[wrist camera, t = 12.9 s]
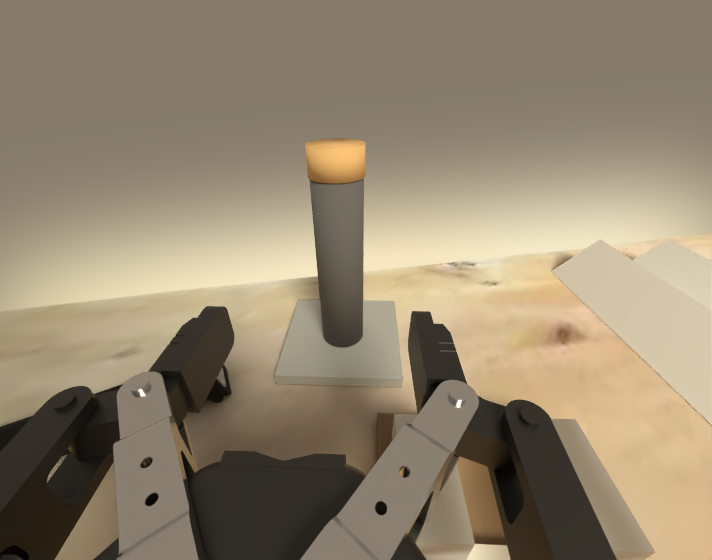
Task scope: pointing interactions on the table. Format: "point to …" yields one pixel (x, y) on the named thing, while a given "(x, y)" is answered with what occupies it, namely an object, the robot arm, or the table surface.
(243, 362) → the table surface
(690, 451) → the table surface
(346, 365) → the rubber mat
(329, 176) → the grey orange cylinder
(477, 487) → the clamp block
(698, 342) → the z bracket
